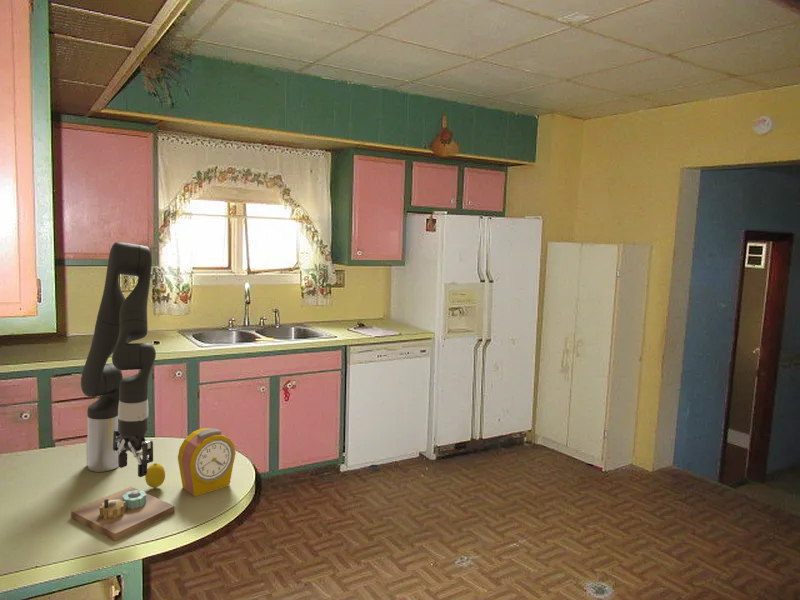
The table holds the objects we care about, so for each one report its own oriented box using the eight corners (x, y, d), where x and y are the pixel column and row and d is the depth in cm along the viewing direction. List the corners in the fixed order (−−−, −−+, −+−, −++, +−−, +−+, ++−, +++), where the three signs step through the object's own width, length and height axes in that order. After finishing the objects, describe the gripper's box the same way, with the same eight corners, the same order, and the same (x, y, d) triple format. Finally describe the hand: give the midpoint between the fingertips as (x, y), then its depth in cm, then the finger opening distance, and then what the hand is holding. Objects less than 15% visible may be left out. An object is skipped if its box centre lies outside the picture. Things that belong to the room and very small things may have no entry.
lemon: (157, 493, 175) (158, 468, 174) (141, 491, 176) (141, 465, 175) (168, 485, 180) (169, 460, 179) (152, 483, 181) (152, 458, 180)
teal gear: (117, 504, 163) (117, 496, 163) (136, 496, 168) (136, 488, 168) (131, 511, 160) (131, 502, 160) (150, 502, 166) (150, 494, 165)
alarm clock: (190, 499, 173) (191, 439, 170) (177, 489, 178) (178, 431, 176) (235, 484, 184) (237, 428, 181) (221, 475, 189) (223, 420, 187)
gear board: (71, 517, 159) (70, 495, 158) (131, 492, 174) (131, 472, 173) (115, 541, 149) (115, 517, 148) (174, 512, 165) (174, 490, 164)
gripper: (104, 412, 161) (104, 468, 163) (137, 425, 154) (136, 484, 156) (129, 405, 167) (128, 459, 170) (162, 418, 160) (161, 474, 162)
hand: (132, 471), depth 163 cm, fingers open, 8 cm apart
